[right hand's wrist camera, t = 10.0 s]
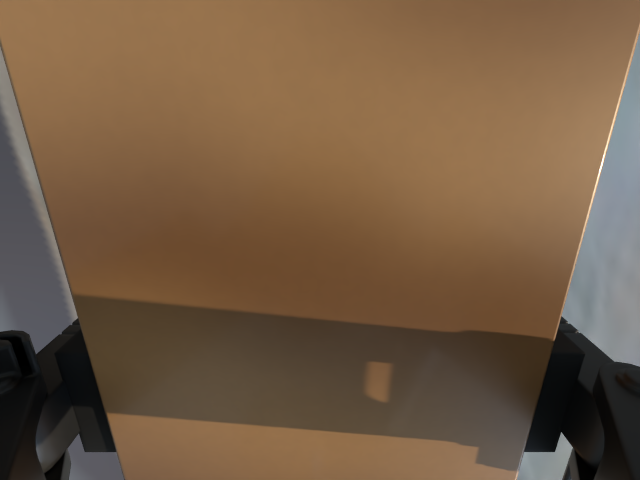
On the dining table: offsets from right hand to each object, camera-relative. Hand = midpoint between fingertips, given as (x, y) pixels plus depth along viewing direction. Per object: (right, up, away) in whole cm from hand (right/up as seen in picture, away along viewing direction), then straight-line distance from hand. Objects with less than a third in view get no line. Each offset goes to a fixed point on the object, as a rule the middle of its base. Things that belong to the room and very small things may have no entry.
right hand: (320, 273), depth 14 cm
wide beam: (0, +29, -10) cm, 31 cm away
